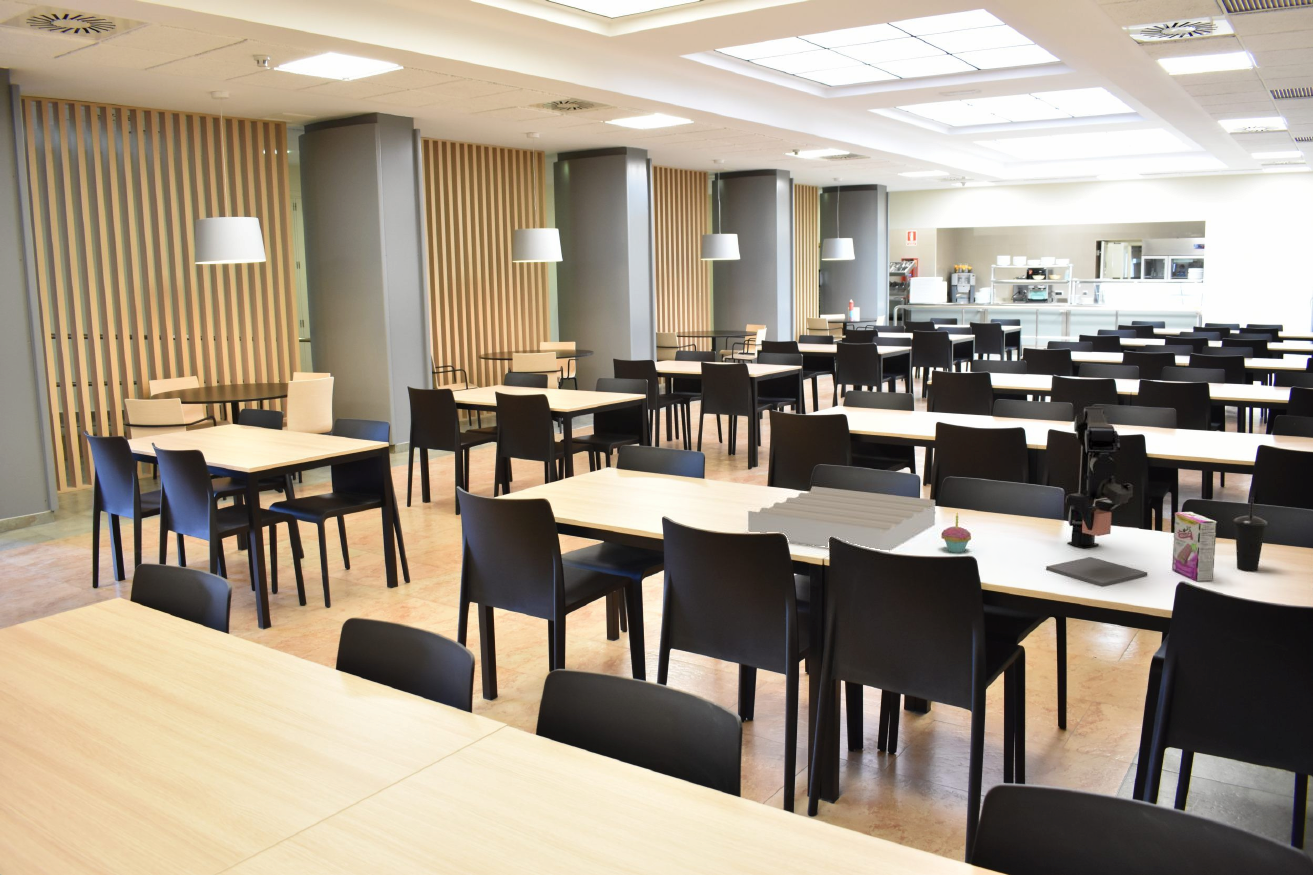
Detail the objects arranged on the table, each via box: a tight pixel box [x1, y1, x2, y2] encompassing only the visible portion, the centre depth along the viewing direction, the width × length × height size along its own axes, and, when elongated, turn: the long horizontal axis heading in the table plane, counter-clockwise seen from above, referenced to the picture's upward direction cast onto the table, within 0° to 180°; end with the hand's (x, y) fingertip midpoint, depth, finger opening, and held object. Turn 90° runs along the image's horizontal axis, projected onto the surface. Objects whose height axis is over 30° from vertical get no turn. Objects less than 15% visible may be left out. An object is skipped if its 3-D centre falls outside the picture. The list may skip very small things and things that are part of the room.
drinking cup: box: [1233, 497, 1268, 572], centre depth 266 cm, size 8×8×20 cm
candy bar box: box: [1171, 511, 1218, 583], centre depth 261 cm, size 11×5×16 cm, turn 5°
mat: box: [1045, 556, 1148, 587], centre depth 267 cm, size 18×18×1 cm
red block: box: [1082, 509, 1112, 537], centre depth 265 cm, size 5×5×6 cm
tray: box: [747, 486, 936, 552], centre depth 318 cm, size 45×45×9 cm
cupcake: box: [940, 512, 972, 553], centre depth 291 cm, size 9×8×12 cm
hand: (1096, 528), depth 265 cm, fingers closed on red block, 5 cm apart
